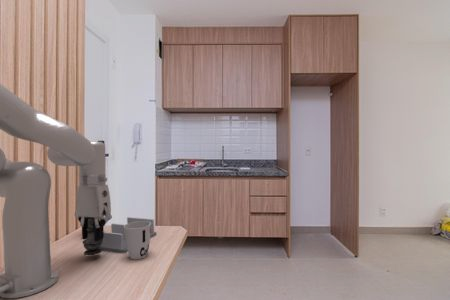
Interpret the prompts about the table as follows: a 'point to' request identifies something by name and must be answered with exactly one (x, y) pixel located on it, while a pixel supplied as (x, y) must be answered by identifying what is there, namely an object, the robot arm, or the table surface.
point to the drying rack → (121, 236)
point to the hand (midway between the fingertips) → (92, 238)
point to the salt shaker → (92, 240)
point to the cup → (137, 238)
